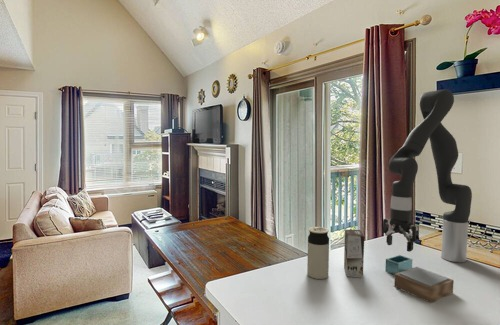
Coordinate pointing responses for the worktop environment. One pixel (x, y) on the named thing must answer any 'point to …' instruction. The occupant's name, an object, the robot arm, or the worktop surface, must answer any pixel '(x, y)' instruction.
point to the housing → (398, 264)
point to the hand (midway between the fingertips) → (399, 247)
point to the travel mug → (318, 253)
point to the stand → (424, 284)
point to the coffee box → (354, 253)
